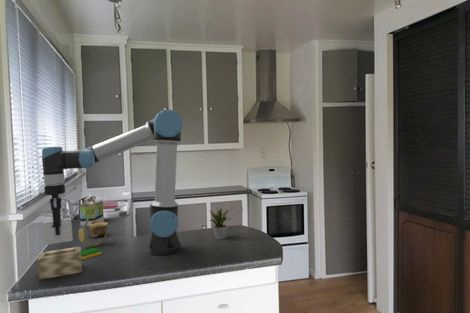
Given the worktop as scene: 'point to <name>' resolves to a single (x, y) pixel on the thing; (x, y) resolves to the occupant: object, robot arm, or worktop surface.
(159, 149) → the robot arm
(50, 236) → the grey flat block
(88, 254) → the dish sponge
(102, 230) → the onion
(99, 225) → the wall sconce
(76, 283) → the worktop surface
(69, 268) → the camouflage slotted box
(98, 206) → the tea box
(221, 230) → the house plant
